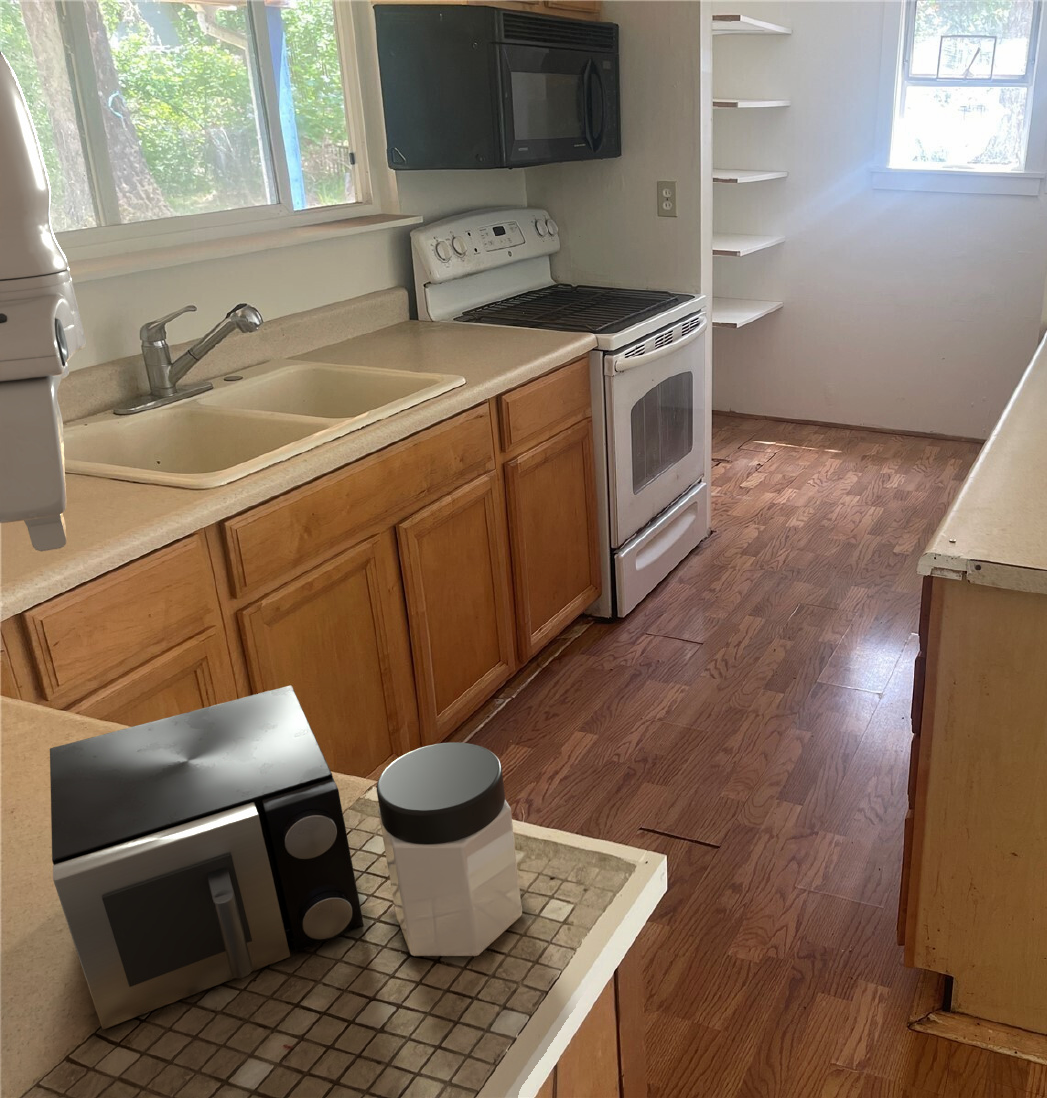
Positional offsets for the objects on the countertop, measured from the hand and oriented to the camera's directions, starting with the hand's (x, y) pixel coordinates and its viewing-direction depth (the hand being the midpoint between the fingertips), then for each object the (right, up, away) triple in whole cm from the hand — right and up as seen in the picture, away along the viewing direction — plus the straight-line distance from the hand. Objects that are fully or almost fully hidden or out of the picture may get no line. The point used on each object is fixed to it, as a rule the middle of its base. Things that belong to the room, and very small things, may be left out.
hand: (51, 542), depth 65 cm
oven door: (+9, -29, 0) cm, 31 cm away
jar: (+24, -27, +8) cm, 37 cm away
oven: (+7, -26, +8) cm, 29 cm away
